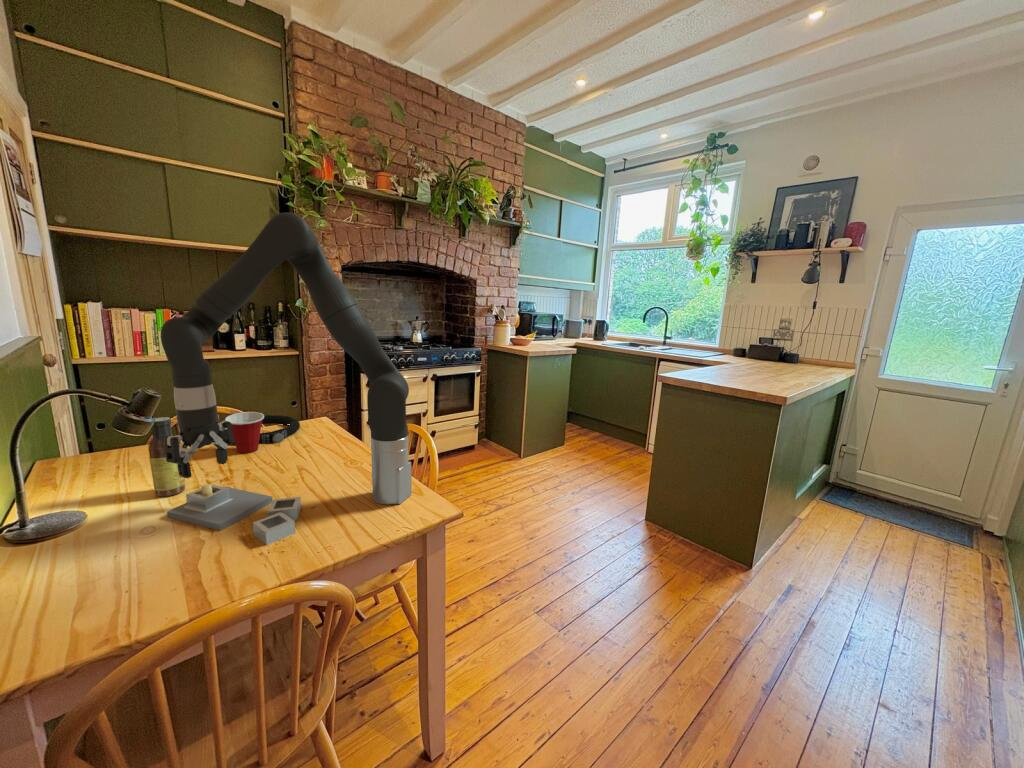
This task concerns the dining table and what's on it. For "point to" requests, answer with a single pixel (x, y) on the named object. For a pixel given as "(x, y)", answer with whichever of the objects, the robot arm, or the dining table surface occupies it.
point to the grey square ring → (208, 498)
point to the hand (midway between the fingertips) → (205, 470)
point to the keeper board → (221, 509)
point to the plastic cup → (246, 430)
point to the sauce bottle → (163, 461)
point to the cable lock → (279, 434)
